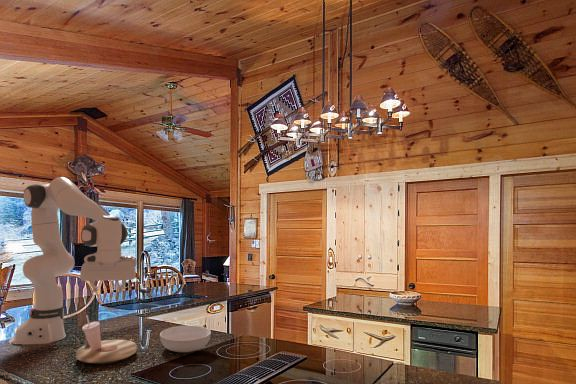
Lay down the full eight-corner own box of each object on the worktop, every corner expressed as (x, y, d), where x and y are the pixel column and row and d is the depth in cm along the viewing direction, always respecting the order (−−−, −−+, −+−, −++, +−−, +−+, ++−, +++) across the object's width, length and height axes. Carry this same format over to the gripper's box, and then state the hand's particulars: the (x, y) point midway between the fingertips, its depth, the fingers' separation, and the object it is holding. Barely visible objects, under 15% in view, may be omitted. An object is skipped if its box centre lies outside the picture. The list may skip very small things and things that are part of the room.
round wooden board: (148, 347, 176) (148, 333, 176) (108, 366, 155) (109, 351, 155) (105, 340, 183) (105, 327, 183) (62, 358, 163) (62, 343, 163)
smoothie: (91, 345, 172) (82, 312, 169) (107, 342, 172) (99, 309, 170) (85, 353, 165) (76, 320, 163) (102, 350, 166) (93, 317, 163)
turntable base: (84, 367, 159) (84, 363, 159) (85, 353, 173) (85, 349, 173) (130, 361, 165) (130, 357, 165) (127, 348, 180) (127, 344, 180)
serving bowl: (185, 361, 165) (185, 343, 166) (148, 351, 177) (149, 334, 177) (221, 346, 183) (221, 330, 183) (185, 337, 194) (186, 322, 194)
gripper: (137, 255, 176) (136, 289, 175) (83, 255, 171) (82, 290, 170) (136, 257, 169) (135, 292, 169) (79, 257, 164) (78, 294, 164)
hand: (108, 291), depth 170 cm, fingers open, 8 cm apart
